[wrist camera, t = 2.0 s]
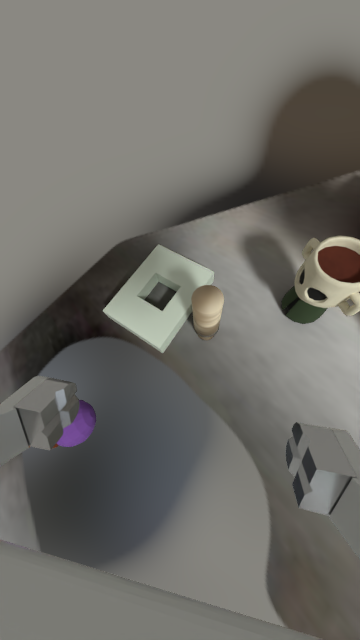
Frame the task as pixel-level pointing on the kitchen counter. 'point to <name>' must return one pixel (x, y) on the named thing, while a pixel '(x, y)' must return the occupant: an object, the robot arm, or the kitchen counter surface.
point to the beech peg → (207, 310)
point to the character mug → (325, 279)
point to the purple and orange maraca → (79, 426)
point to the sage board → (130, 298)
